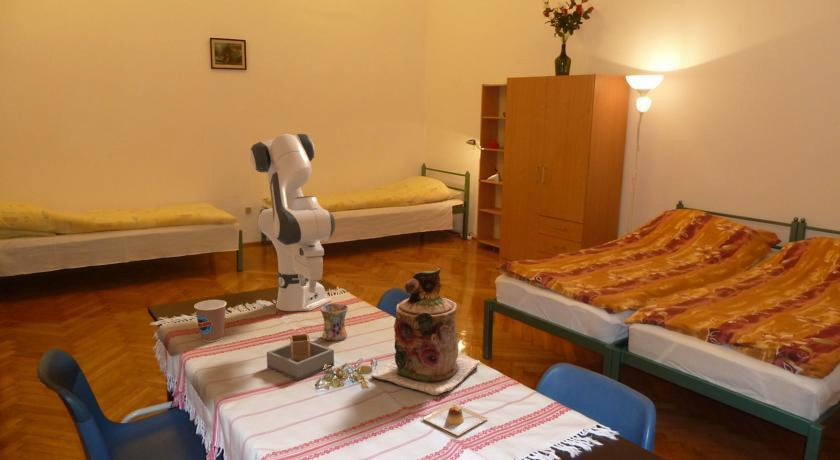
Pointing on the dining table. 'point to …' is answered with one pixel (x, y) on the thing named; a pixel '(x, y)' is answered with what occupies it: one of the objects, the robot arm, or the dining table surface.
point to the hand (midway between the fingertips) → (307, 289)
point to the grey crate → (300, 370)
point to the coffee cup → (211, 319)
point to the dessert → (455, 416)
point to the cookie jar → (426, 340)
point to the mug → (334, 321)
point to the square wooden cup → (300, 347)
